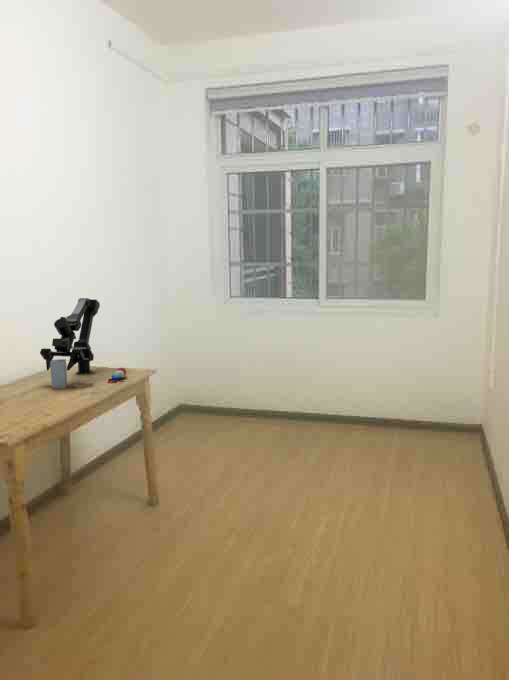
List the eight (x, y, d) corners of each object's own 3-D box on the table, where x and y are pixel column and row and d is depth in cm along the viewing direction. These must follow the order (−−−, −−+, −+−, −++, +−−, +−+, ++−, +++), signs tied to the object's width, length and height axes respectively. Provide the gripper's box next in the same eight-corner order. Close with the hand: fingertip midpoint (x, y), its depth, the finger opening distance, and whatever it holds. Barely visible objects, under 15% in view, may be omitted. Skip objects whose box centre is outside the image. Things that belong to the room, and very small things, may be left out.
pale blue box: (54, 385, 250) (53, 359, 248) (67, 385, 251) (65, 359, 249) (51, 388, 246) (50, 361, 244) (64, 387, 246) (62, 361, 244)
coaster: (76, 382, 255) (75, 381, 255) (95, 382, 255) (95, 381, 255) (70, 387, 246) (70, 386, 246) (91, 387, 247) (91, 386, 246)
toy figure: (122, 387, 254) (131, 374, 268) (120, 377, 253) (129, 364, 267) (106, 388, 255) (116, 375, 269) (104, 378, 254) (114, 365, 268)
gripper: (40, 330, 249) (30, 359, 240) (80, 331, 247) (71, 360, 238) (49, 345, 258) (39, 373, 249) (88, 345, 257) (79, 374, 247)
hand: (57, 370), depth 246 cm, fingers open, 9 cm apart
